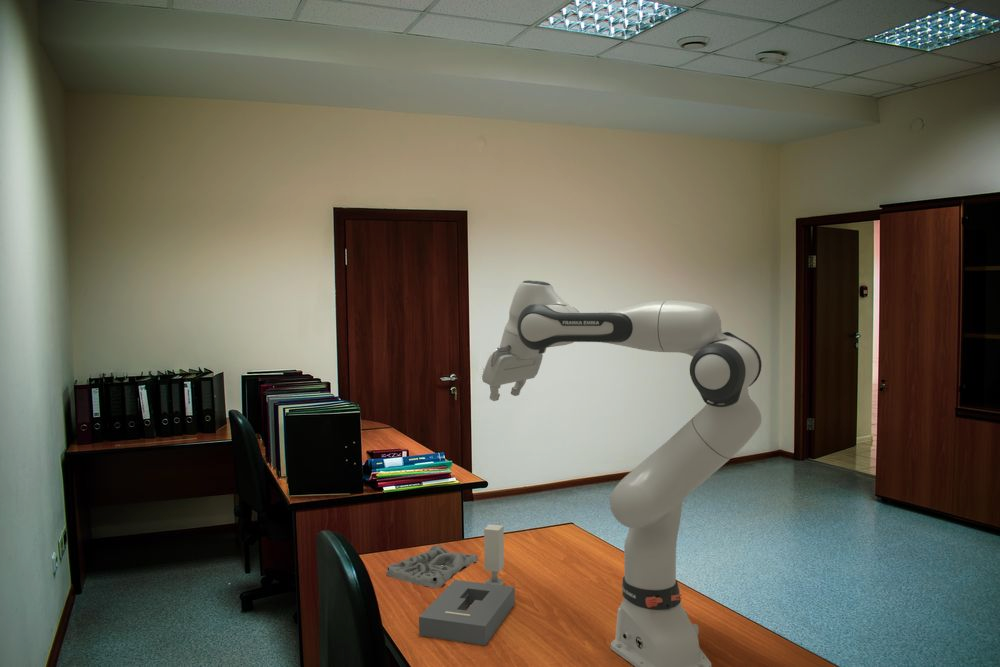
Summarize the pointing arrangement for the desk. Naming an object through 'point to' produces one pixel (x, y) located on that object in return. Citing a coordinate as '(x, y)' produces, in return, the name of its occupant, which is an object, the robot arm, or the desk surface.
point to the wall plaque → (430, 567)
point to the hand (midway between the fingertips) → (504, 397)
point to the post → (494, 552)
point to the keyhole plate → (467, 612)
